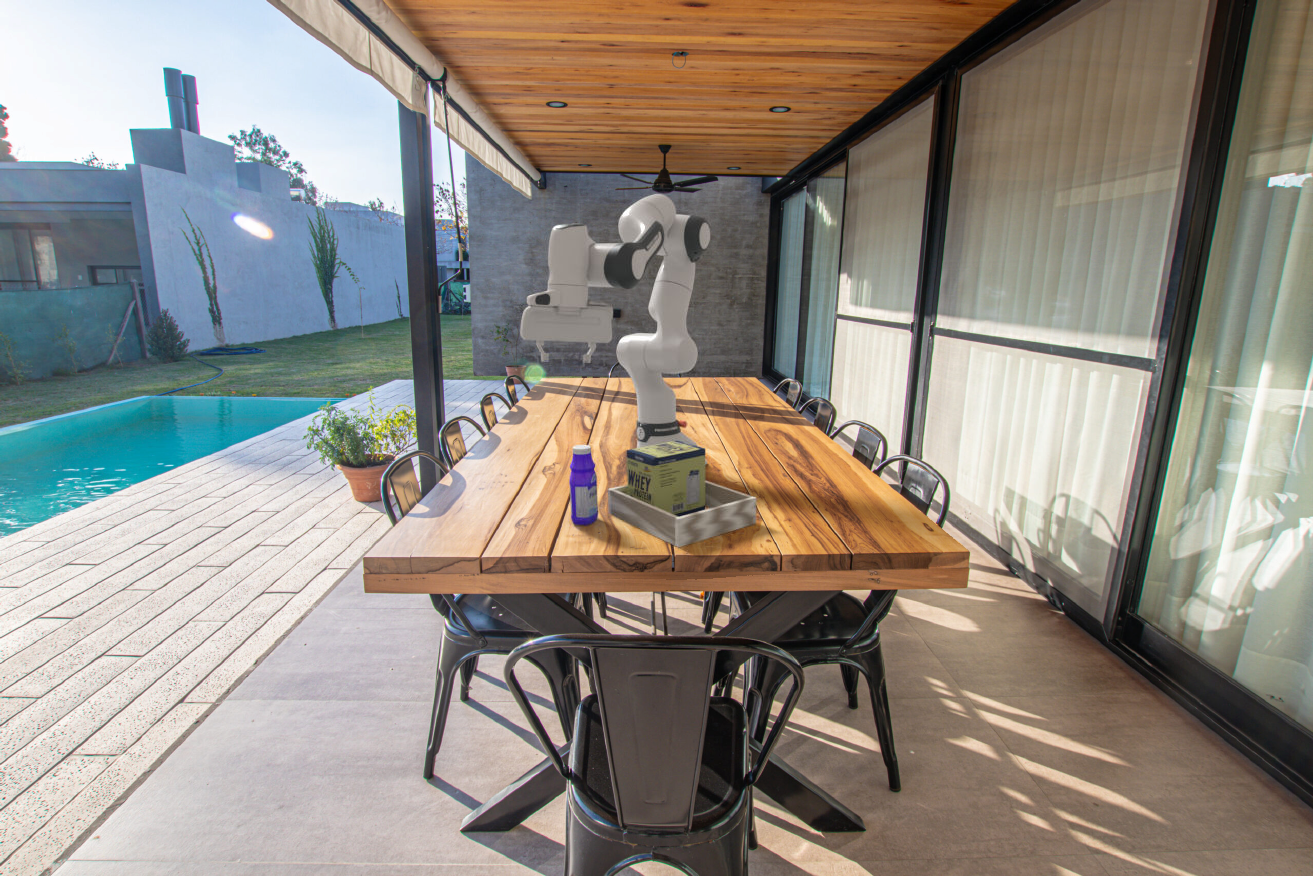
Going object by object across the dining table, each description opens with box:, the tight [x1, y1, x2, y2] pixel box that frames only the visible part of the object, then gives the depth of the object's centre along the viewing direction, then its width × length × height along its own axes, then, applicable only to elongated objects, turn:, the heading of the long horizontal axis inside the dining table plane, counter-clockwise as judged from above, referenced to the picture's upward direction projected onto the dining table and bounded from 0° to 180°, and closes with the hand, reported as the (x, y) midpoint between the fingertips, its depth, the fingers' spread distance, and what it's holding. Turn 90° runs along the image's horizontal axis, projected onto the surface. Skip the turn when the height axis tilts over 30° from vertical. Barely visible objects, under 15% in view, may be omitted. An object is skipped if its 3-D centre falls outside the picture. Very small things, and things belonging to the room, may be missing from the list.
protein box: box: [626, 441, 706, 517], centre depth 148 cm, size 10×16×16 cm
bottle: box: [568, 444, 599, 526], centre depth 142 cm, size 7×6×17 cm
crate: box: [607, 480, 757, 548], centre depth 145 cm, size 22×26×6 cm
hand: (566, 362), depth 144 cm, fingers open, 8 cm apart
